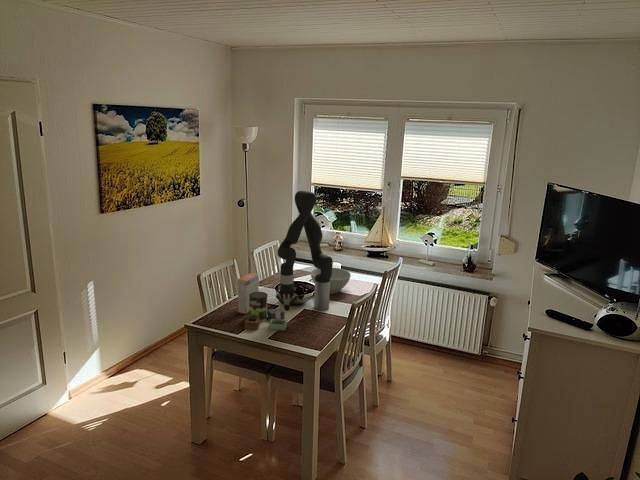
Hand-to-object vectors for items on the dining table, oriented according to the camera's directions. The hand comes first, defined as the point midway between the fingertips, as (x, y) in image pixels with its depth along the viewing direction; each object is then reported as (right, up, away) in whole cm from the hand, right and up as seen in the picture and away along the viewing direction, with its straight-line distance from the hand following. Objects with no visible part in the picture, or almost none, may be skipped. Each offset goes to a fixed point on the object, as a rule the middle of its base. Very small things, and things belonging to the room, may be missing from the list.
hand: (286, 310), depth 262 cm
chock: (-7, -5, +5) cm, 9 cm away
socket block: (-18, -8, -8) cm, 22 cm away
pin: (-4, -8, -8) cm, 12 cm away
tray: (-4, -8, -8) cm, 12 cm away
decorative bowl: (+25, +5, +51) cm, 57 cm away
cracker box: (-24, -2, +14) cm, 28 cm away
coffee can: (-17, -5, +3) cm, 18 cm away
